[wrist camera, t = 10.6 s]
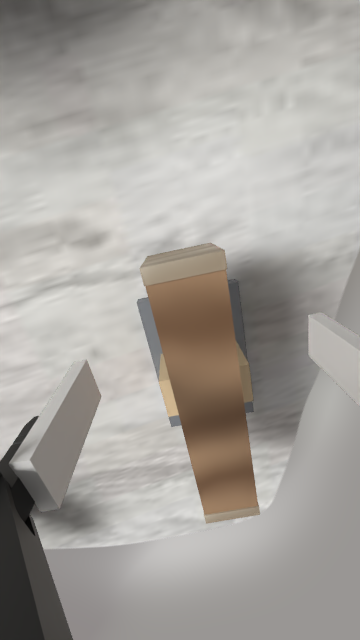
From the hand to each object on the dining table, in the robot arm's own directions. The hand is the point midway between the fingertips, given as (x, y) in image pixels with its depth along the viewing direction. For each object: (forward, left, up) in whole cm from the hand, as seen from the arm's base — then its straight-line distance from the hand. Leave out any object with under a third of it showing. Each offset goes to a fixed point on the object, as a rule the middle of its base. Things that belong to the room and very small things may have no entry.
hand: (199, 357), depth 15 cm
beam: (+5, 0, -6) cm, 8 cm away
